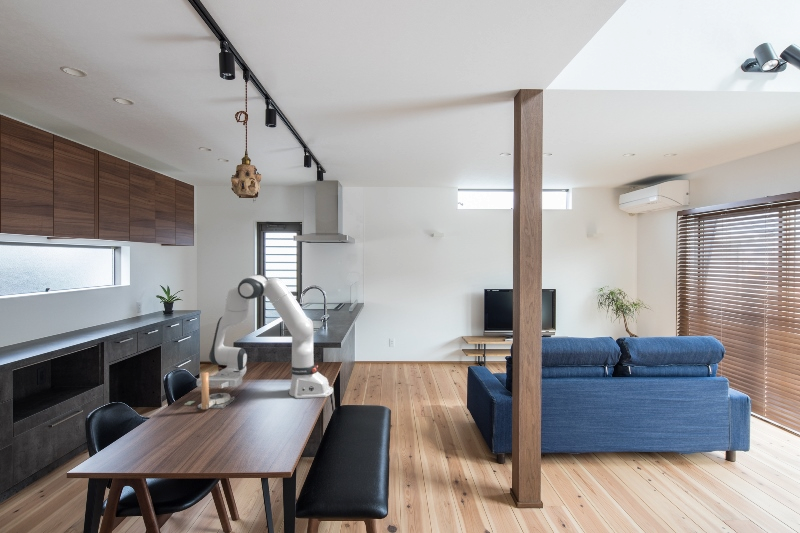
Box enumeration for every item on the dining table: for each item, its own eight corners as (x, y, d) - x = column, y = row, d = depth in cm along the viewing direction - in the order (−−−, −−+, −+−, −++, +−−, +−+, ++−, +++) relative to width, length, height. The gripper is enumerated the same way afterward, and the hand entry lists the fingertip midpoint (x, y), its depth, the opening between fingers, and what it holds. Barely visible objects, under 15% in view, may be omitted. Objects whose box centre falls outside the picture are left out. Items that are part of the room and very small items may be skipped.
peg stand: (212, 396, 192) (211, 364, 192) (233, 396, 192) (233, 364, 192) (191, 409, 175) (191, 374, 175) (215, 409, 175) (214, 374, 175)
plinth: (235, 399, 192) (234, 391, 192) (222, 408, 180) (222, 399, 180) (211, 399, 193) (211, 391, 193) (197, 408, 181) (197, 399, 181)
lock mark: (195, 401, 189) (195, 401, 189) (190, 404, 185) (190, 404, 185) (189, 401, 189) (189, 401, 189) (184, 404, 185) (184, 403, 185)
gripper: (205, 371, 196) (189, 379, 182) (244, 371, 194) (231, 379, 181) (205, 383, 196) (189, 392, 182) (245, 384, 194) (231, 393, 181)
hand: (210, 386), depth 181 cm, fingers open, 8 cm apart
